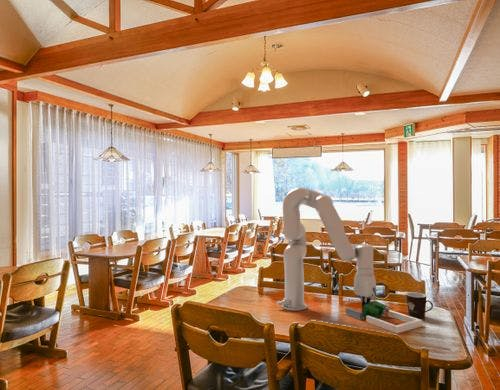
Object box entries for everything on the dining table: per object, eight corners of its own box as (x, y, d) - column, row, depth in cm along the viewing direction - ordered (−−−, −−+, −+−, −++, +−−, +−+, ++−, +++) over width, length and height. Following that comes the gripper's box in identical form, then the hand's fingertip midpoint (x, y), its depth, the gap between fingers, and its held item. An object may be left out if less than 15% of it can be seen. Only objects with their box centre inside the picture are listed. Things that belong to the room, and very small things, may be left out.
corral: (397, 333, 146) (397, 327, 146) (366, 321, 160) (366, 316, 160) (422, 326, 154) (422, 320, 154) (390, 315, 168) (390, 310, 168)
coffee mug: (402, 314, 170) (402, 292, 170) (420, 313, 171) (420, 292, 171) (416, 322, 159) (415, 299, 159) (434, 321, 159) (434, 298, 159)
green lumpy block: (372, 328, 163) (373, 314, 159) (360, 322, 167) (361, 307, 163) (385, 313, 170) (387, 299, 166) (374, 307, 174) (375, 293, 170)
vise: (360, 320, 162) (360, 313, 163) (345, 314, 170) (345, 308, 170) (393, 311, 174) (393, 305, 174) (378, 306, 182) (378, 300, 182)
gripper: (347, 269, 176) (348, 307, 176) (372, 274, 163) (372, 316, 163) (358, 267, 180) (359, 305, 179) (383, 272, 167) (384, 313, 167)
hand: (365, 310), depth 171 cm, fingers closed
